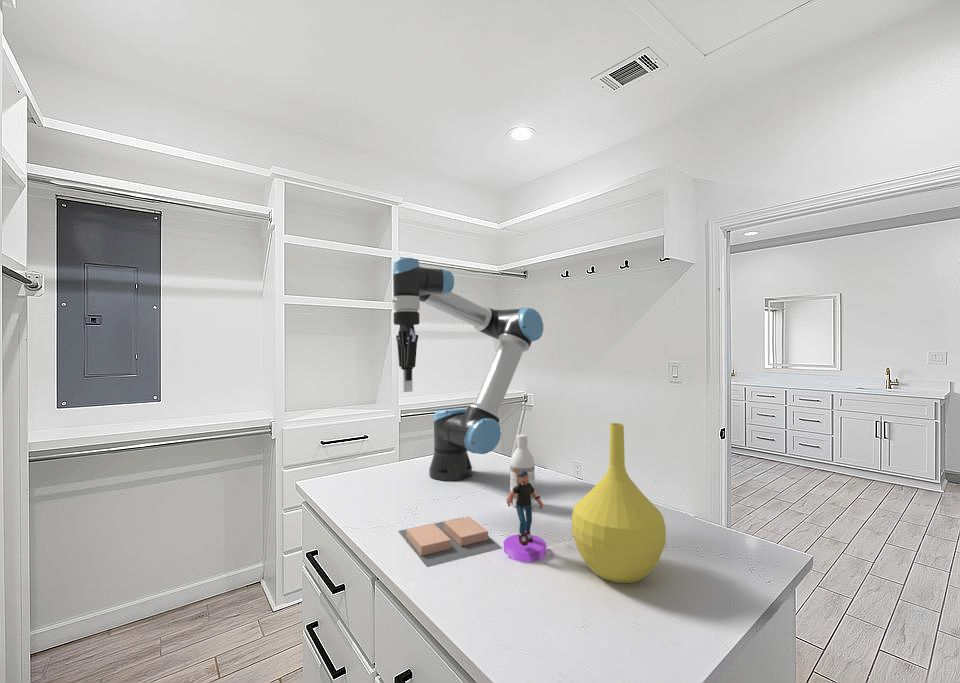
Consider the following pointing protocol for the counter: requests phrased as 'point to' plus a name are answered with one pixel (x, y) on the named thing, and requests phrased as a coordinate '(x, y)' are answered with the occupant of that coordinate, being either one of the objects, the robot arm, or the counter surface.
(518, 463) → the bath foam
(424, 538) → the tile
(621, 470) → the vase
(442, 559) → the mat
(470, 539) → the tile
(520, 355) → the robot arm
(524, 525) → the figurine
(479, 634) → the counter surface
